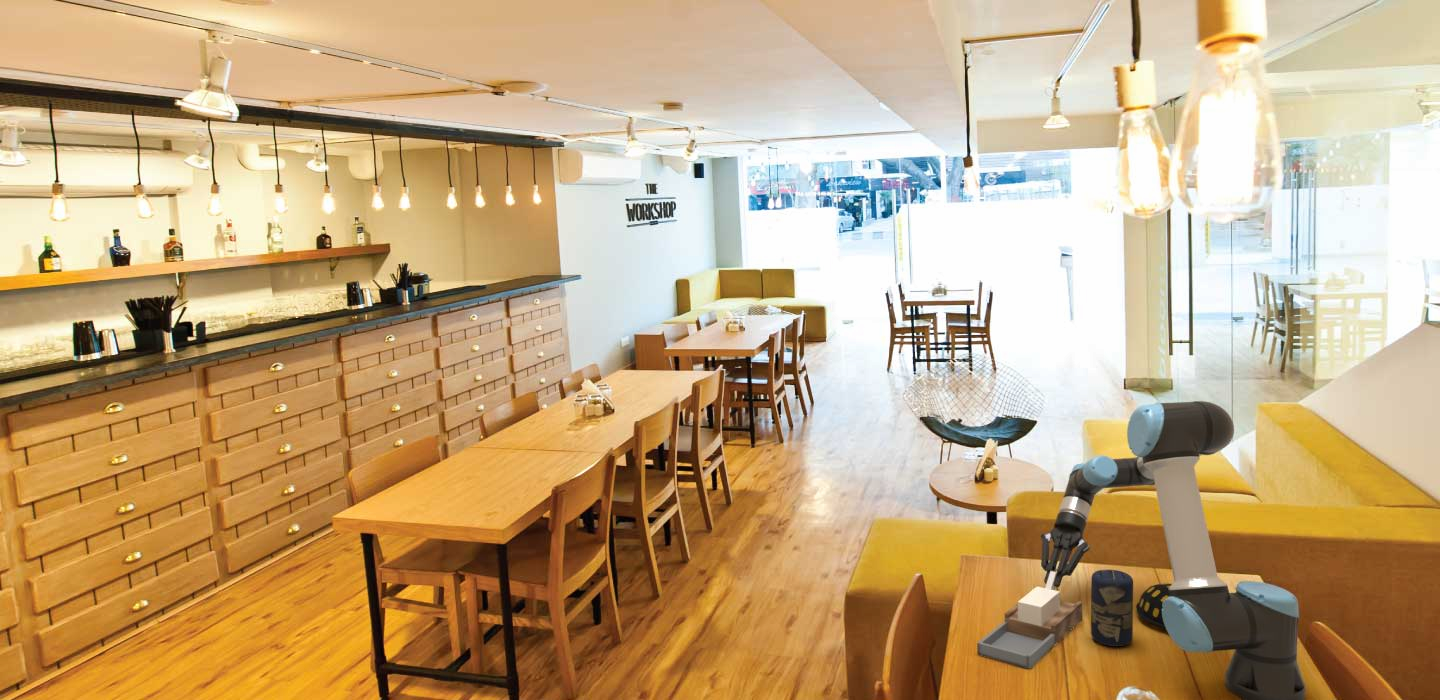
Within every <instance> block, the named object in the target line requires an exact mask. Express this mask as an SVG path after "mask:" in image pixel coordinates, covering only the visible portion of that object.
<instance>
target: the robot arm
mask: <svg viewBox="0 0 1440 700" xmlns="http://www.w3.org/2000/svg"><path fill="white" fill-rule="evenodd" d="M1126 435H1127V436H1126V437H1127V445H1128V448H1129V450H1131V453H1132V454H1133V455H1134V456H1136V457H1125V458H1112V457H1109V456H1107V455H1103V454H1102V455H1101V454H1100V455H1099V454H1098V455H1096V456H1093V458H1090V459H1088V461H1086V462H1084V463H1082V462H1081V463H1077V464H1075V465H1074V466H1073V467H1072V469H1071V472H1070V473H1069V475H1068V481H1067V485H1066V486H1065V487H1066V488H1065V490H1064V491H1065V492H1064V495H1063V497H1062V500H1061V504H1060V506H1059V510H1058V513H1057V516H1056V519H1055V522H1054V525H1053V528H1052V529H1051V530H1050V533H1047V534H1045V533H1041V534H1040V540H1041V560H1040V562H1041V563H1040V565H1041V568H1042V570H1043V571H1044V572H1046V573H1045V576H1044V578H1043V581H1044V584H1045V587H1044V588H1046V589H1051V590H1055V591H1056V588H1059V587H1060V586H1061V584H1062V580H1063V577H1065V576H1066V577H1070V576H1072V574H1073V573H1074V571H1075V569H1076V568H1077V566H1078V565H1079V563H1080V561H1081V560H1082V558H1083V556H1084V555H1085V553H1087V552H1088V551H1089V550H1091V549H1090V547H1091V546H1090V545H1089V544H1088V541H1084V537H1083V535H1084V532H1085V529H1086V526H1087V522H1088V518H1089V515H1090V513H1091V509H1092V507H1093V506H1092V505H1093V502H1094V500H1095V497H1096V494H1098V493H1099V492H1101V491H1102V490H1103V489H1104V490H1105V489H1113V488H1114V489H1115V488H1125V487H1143V486H1149V487H1150V486H1152V487H1153V486H1155V491H1156V496H1157V497H1156V498H1157V501H1158V506H1159V511H1160V516H1161V521H1162V525H1163V530H1164V537H1165V540H1166V545H1167V551H1168V555H1169V556H1168V557H1169V560H1170V565H1171V570H1172V575H1173V582H1172V583H1171V584H1172V585H1171V586H1170V587H1169V594H1170V597H1168V598H1167V599H1165V600H1164V602H1163V604H1162V607H1163V608H1162V617H1163V622H1164V625H1165V627H1166V632H1167V634H1168V635H1169V636H1170V638H1171V640H1172V641H1173V642H1174V643H1175V645H1176V646H1178V647H1179V648H1180V649H1181V650H1183V651H1185V652H1187V653H1207V654H1208V653H1212V652H1220V651H1230V650H1231V651H1232V650H1233V651H1234V653H1233V655H1232V656H1231V659H1230V662H1229V664H1228V666H1227V668H1226V670H1225V675H1224V677H1225V678H1224V680H1225V681H1224V685H1225V686H1226V688H1227V689H1228V690H1229V691H1230V692H1231V693H1233V694H1234V695H1235V696H1238V697H1239V698H1241V699H1243V700H1305V699H1306V684H1305V681H1304V678H1303V675H1302V673H1301V669H1300V667H1299V663H1298V640H1299V639H1298V638H1299V637H1298V633H1299V631H1298V630H1299V617H1300V613H1299V601H1298V599H1297V597H1296V596H1295V595H1294V594H1293V593H1292V592H1291V591H1289V590H1286V589H1285V588H1282V587H1280V586H1277V585H1274V584H1270V583H1265V582H1263V581H1261V582H1260V581H1256V580H1255V581H1254V580H1243V581H1242V580H1241V581H1239V582H1238V583H1237V584H1236V586H1235V590H1236V591H1235V592H1229V587H1228V584H1227V583H1226V582H1224V581H1223V580H1222V579H1221V578H1220V577H1219V576H1218V573H1217V567H1216V563H1215V559H1214V554H1213V549H1212V545H1211V540H1210V535H1209V530H1208V526H1207V521H1206V516H1205V512H1204V507H1203V506H1204V505H1203V502H1202V498H1201V492H1200V488H1199V484H1198V479H1197V475H1196V470H1195V466H1196V465H1197V463H1198V462H1199V461H1200V459H1201V456H1212V455H1214V454H1216V453H1218V452H1220V451H1222V450H1223V449H1225V448H1226V447H1227V446H1228V445H1229V444H1230V443H1231V441H1232V439H1233V437H1234V435H1235V424H1234V422H1233V420H1232V417H1231V415H1230V414H1229V412H1228V411H1226V409H1224V408H1223V407H1222V406H1220V405H1218V404H1216V403H1213V402H1210V401H1203V400H1199V401H1198V400H1197V401H1196V400H1195V401H1182V402H1180V401H1179V402H1178V401H1176V402H1175V401H1174V402H1155V403H1149V404H1144V405H1140V406H1138V407H1137V408H1135V409H1134V411H1133V412H1132V413H1131V415H1130V417H1129V421H1128V425H1127V429H1126ZM1051 540H1052V541H1053V548H1052V552H1051V555H1050V544H1051V542H1052V541H1051ZM1075 548H1076V549H1075ZM1073 549H1075V550H1074V553H1072V552H1073ZM1071 555H1072V556H1071ZM1070 556H1071V557H1070Z"/></svg>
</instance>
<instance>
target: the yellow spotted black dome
mask: <svg viewBox="0 0 1440 700" xmlns="http://www.w3.org/2000/svg"><path fill="white" fill-rule="evenodd" d="M1171 585H1172V583H1168V582H1167V583H1158V584H1154V585H1151V586H1149V587H1148V588H1147V589H1145V590H1144V591H1143V593H1142V594H1141V595H1140V597H1139V600H1138V602H1137V603H1136V606H1135V610H1136V613H1137V615H1138V616H1139V617H1140V618H1141V619H1142V620H1143V621H1145V622H1148V623H1149V624H1152V625H1154V626H1156V627H1159V628H1162V629H1166V627H1165V625H1164V622H1163V617H1162V608H1163V607H1162V604H1163V602H1164V600H1165V599H1167V598H1168V597H1170V594H1169V587H1170V586H1171Z"/></svg>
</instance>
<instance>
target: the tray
mask: <svg viewBox="0 0 1440 700" xmlns="http://www.w3.org/2000/svg"><path fill="white" fill-rule="evenodd" d="M976 645H977V646H976V647H977V648H976V649H977V654H979V655H978V656H980V655H982V656H981V657H984V656H986V657H985V658H987V657H989V658H988V659H991V658H992V660H994V661H995V660H996V661H999V662H1002V663H1006V664H1009V665H1012V666H1017V667H1020V668H1024V669H1027V670H1030V669H1031V668H1032V667H1034V666H1035V665H1036V664H1037V663H1038V662H1039V661H1041V659H1042V658H1043V657H1044V656H1045V655H1047V652H1048V651H1049V650H1050V649H1051V648H1052V647H1053V646H1054V645H1055V634H1050V635H1049V636H1048V637H1047V638H1046V639H1045V640H1044V641H1042V640H1038V639H1035V638H1031V637H1027V636H1023V635H1019V634H1015V633H1012V632H1008V631H1007V622H1005V621H1003V622H1001V624H999V625H998V626H996V627H995V628H993V630H991V632H989V633H988V634H987V635H985V636H984V637H983V638H982V639H980V640H979V641H977V643H976ZM1055 646H1056V645H1055ZM1055 646H1054V647H1055ZM1054 647H1053V648H1054ZM1053 648H1052V649H1053ZM1052 649H1051V650H1052ZM1051 650H1050V651H1051ZM1050 651H1049V652H1050ZM1049 652H1048V653H1049Z"/></svg>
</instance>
